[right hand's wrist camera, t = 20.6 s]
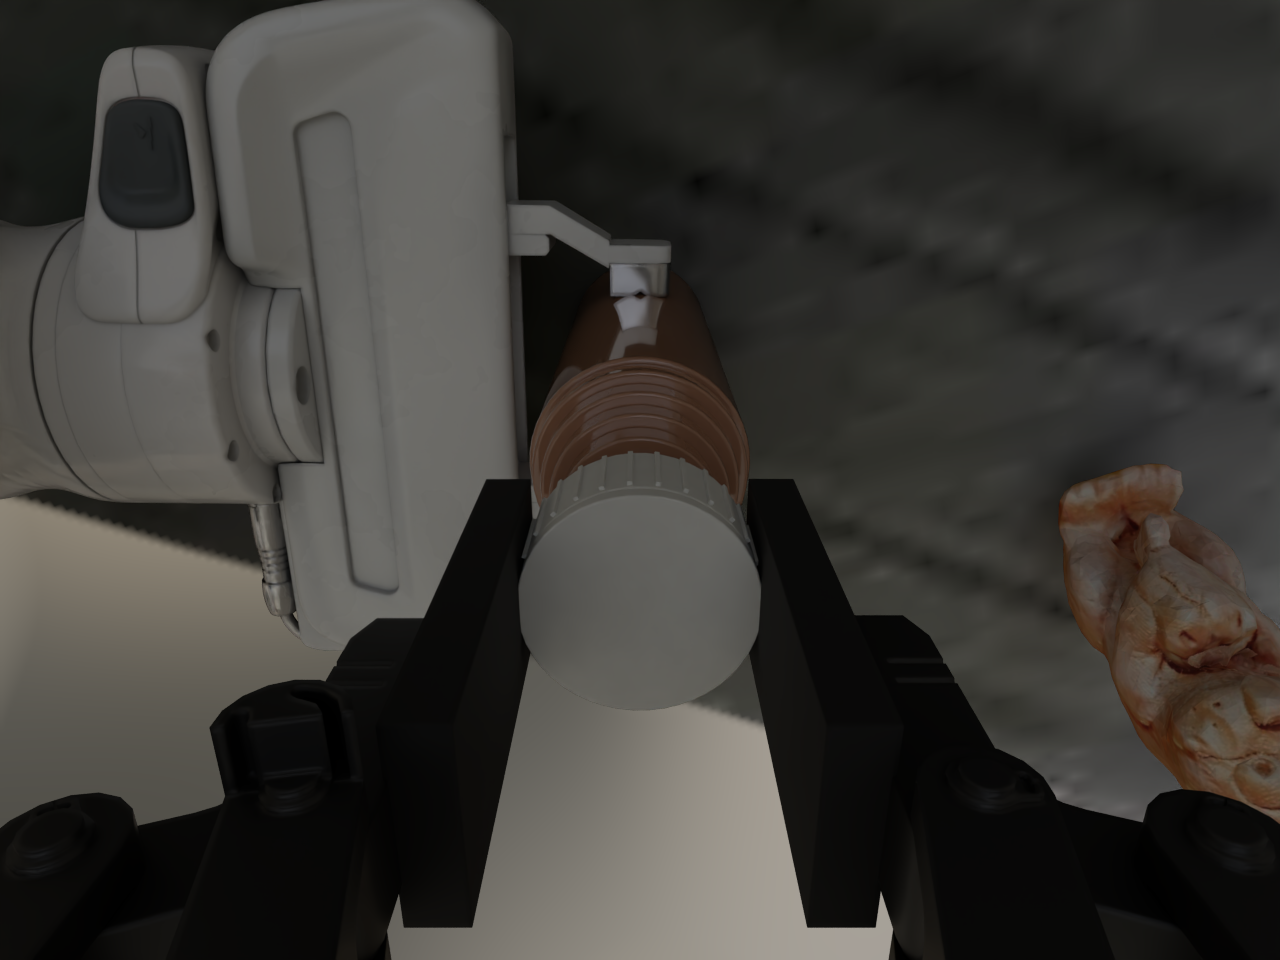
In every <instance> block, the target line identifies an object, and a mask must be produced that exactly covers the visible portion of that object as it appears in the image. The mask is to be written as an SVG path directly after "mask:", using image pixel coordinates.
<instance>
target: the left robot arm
mask: <svg viewBox="0 0 1280 960" xmlns="http://www.w3.org/2000/svg"><path fill="white" fill-rule="evenodd" d="M556 238H557V239H559V240H561V241H562V242H564V243H566V244H568V245H569V246H571V247H573V248H575V249H576V250H578V251H580V252H581V253H583V254H585V255H587V256H588V257H590V258H592V259H593V260H595V261H597V262H599V263H600V264H602V265H604V266H606V267H607V268H609V265H610V296H634V295H636V294H637V293H639V292H640V291H641V292H642V293H643V294H645V295H646V296H653V297H664V296H668V295H669V292H670V270H671V242H670V241H666V240H654V239H611V234H609V233H608V232H606V231H605V230H603V229H601V228H600V227H598V226H596V225H595V224H593V223H591V222H590V221H588V220H587V219H585V218H583V217H582V216H580V215H578V214H577V213H575V212H574V211H572V210H570V209H569V208H567V207H565V206H564V205H562V204H561V203H559V202H557V201H554V200H519V196H518V170H517V144H516V118H515V92H514V67H513V45H512V40H511V37H510V35H509V33H508V32H507V31H506V29H505V28H504V27H503V26H502V25H501V24H500V23H499V21H498V20H497V19H496V18H495V17H494V16H493V15H492V14H491V13H490V12H489V11H488V10H487V9H486V8H485V7H484V6H482V5H481V4H480V3H479V2H477V1H476V0H324V1H318V2H312V3H306V4H300V5H295V6H290V7H285V8H280V9H276V10H272V11H268V12H265V13H262V14H259V15H257V16H254V17H252V18H250V19H248V20H246V21H244V22H242V23H241V24H239V25H238V26H236V27H235V28H234V29H233V30H231V31H230V32H229V33H228V34H227V35H226V36H225V37H224V38H223V40H222V41H221V42H220V43H219V45H218V46H217V48H216V50H215V51H214V50H209V49H203V48H196V47H189V46H174V45H150V46H138V47H130V48H123V49H119V50H116V51H114V52H113V53H111V54H110V55H109V56H108V57H107V59H106V61H105V63H104V65H103V68H102V71H101V75H100V79H99V87H98V96H97V108H96V121H95V132H94V143H93V154H92V163H91V172H90V181H89V189H88V196H87V204H86V210H85V216H84V217H80V218H76V219H72V220H68V221H64V222H60V223H56V224H52V225H46V226H34V227H27V226H19V225H15V224H12V223H9V222H5V221H2V220H0V499H5V498H11V497H15V496H19V495H22V494H26V493H29V492H33V491H36V490H42V489H62V490H66V491H70V492H74V493H77V494H80V495H83V496H86V497H90V498H94V499H98V500H104V501H113V502H136V503H228V504H248V510H249V515H250V520H251V526H252V532H253V537H254V541H255V545H256V548H257V551H258V554H259V557H260V561H261V565H262V570H263V577H264V578H263V579H262V588H263V595H264V599H265V602H266V605H267V607H268V610H269V611H270V613H271V614H272V615H274V616H280V617H281V619H282V621H283V623H284V624H285V626H286V627H287V628H288V629H289V630H290V631H291V632H292V633H293V635H295V636H296V637H297V638H299V639H300V640H301V641H302V642H303V644H304V645H306V646H307V647H310V648H313V649H317V650H324V651H343V650H344V648H345V647H346V645H347V643H348V642H349V640H350V638H351V637H353V636H354V635H355V634H357V633H358V632H359V631H361V630H362V629H363V628H364V627H366V626H367V625H368V624H370V623H371V622H372V621H374V620H375V619H376V618H424V616H425V614H426V612H427V610H428V607H429V605H430V603H431V601H432V599H433V596H434V594H435V592H436V590H437V587H438V585H439V583H440V581H441V579H442V576H443V574H444V572H445V570H446V567H447V565H448V563H449V561H450V559H451V556H452V554H453V552H454V550H455V547H456V545H457V543H458V541H459V539H460V536H461V534H462V532H463V530H464V527H465V525H466V523H467V521H468V519H469V516H470V514H471V512H472V510H473V507H474V505H475V503H476V501H477V499H478V496H479V494H480V492H481V490H482V487H483V485H484V483H485V481H486V479H531V472H530V462H529V456H528V430H527V404H526V378H525V352H524V326H523V300H522V274H521V255H529V256H546V255H547V253H548V252H549V251H550V250H551V249H552V248H553V246H554V245H555V244H556ZM531 495H532V514H533V518H534V519H536V518H537V516H538V513H539V510H540V508H539V505H538V503H537V500H536V497H535V493H534V489H533V483H532V479H531ZM295 611H297V617H298V621H297V620H296V618H295V617H294V615H293V613H294V612H295Z"/></svg>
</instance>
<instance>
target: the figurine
mask: <svg viewBox="0 0 1280 960" xmlns="http://www.w3.org/2000/svg"><path fill="white" fill-rule="evenodd" d="M1183 491H1184V489H1183V486H1182V477H1181V471H1178V470H1174V469H1172V468H1170V467H1169V466H1168V465H1163V464H1145V465H1134V466H1131V467H1128V468H1125V469H1122V470H1118V471H1115V472H1112V473H1109V474H1106V475H1103V476H1100V477H1097V478H1093V479H1090V480H1086V481H1082V482H1080V483H1077V484H1074V485H1073V486H1071V487H1070V488H1069V489H1067V490H1066V491H1065V492H1064V494H1063V496H1062V497H1061V499H1060V503H1059V519H1058V524H1059V530H1060V534H1061V537H1062V539H1063V541H1064V546H1063V553H1064V557H1063V568H1064V582H1065V586H1066V590H1067V597H1068V602H1069V605H1070V608H1071V610H1072V612H1073V615H1074V617H1075V619H1076V622H1077V624H1078V626H1079V628H1080V630H1081V632H1082V634H1083V635H1084V636H1085V637H1086V639H1087V640H1088V641H1089V643H1090V644H1091V645H1092V646H1093V647H1094V648H1095V649H1097V650H1098V651H1100V652H1101V653H1103V654H1104V655H1105V657H1106V658H1107V660H1108V662H1109V666H1110V670H1111V675H1112V678H1113V681H1114V684H1115V686H1116V689H1117V691H1118V694H1119V696H1120V699H1121V701H1122V703H1123V705H1124V707H1125V709H1126V711H1127V713H1128V715H1129V717H1130V719H1131V721H1132V723H1133V725H1134V728H1135V730H1136V732H1137V734H1138V736H1139V737H1140V739H1141V740H1142V742H1143V743H1144V744H1145V746H1146V747H1147V748H1148V749H1149V750H1150V751H1151V752H1152V753H1153V754H1154V755H1155V757H1156V758H1158V759H1159V760H1160V761H1161V762H1162V763H1163V764H1164V765H1165V766H1166V767H1167V768H1168V770H1169V771H1170V772H1171V773H1172V774H1173V775H1174V776H1175V777H1176V779H1177V781H1178V782H1179V784H1180V785H1181V786H1182V788H1183V789H1186V790H1197V791H1207V792H1212V793H1215V794H1218V795H1222V796H1225V797H1228V798H1231V799H1235V800H1238V801H1241V802H1243V803H1245V804H1247V805H1249V806H1250V807H1252V808H1254V809H1256V810H1258V811H1260V812H1262V813H1264V814H1266V815H1268V816H1270V817H1271V818H1273V819H1274V820H1275V821H1277V822H1278V823H1279V824H1280V629H1279V628H1278V627H1277V626H1276V624H1275V623H1274V622H1273V621H1272V620H1271V619H1270V618H1268V617H1267V616H1265V615H1263V614H1262V613H1261V612H1260V610H1259V609H1258V607H1257V606H1256V605H1255V604H1254V603H1253V602H1252V601H1251V600H1250V599H1249V598H1248V597H1247V596H1246V585H1245V577H1244V573H1243V570H1242V567H1241V564H1240V562H1239V560H1238V558H1237V557H1236V555H1235V553H1234V551H1233V550H1232V549H1231V548H1230V547H1229V546H1228V545H1227V544H1226V543H1225V542H1224V541H1222V540H1221V539H1220V538H1219V537H1218V536H1217V535H1216V534H1214V533H1213V532H1211V531H1210V530H1208V529H1207V528H1205V527H1203V526H1201V525H1199V524H1197V523H1196V522H1194V521H1192V520H1190V519H1188V518H1187V517H1185V516H1183V515H1181V514H1179V513H1178V512H1176V511H1175V510H1173V509H1174V508H1175V506H1176V505H1177V503H1178V500H1179V498H1180V496H1181V495H1182V493H1183Z"/></svg>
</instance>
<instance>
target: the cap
mask: <svg viewBox="0 0 1280 960" xmlns="http://www.w3.org/2000/svg"><path fill="white" fill-rule="evenodd" d="M521 558H524V559H525V560H524V563H523V567H522V571H521V574H520V579H519V583H518V591H519V608H520V624H521V633H522V635H523V638H524V640H525V643H526V645H527V647H528V648H529V650H530V652H531V654H532V656H533V657H534V658H535V660H536V661H537V662H538V664H539V665H540V666H541V668H542V669H543V670H544V671H545V672H546V673H547V674H548V675H549V676H550V677H551V678H552V679H553V680H555V681H556V682H557V683H559V684H560V685H561V686H562V687H564V688H565V689H567V690H569V691H570V692H572V693H574V694H575V695H577V696H579V697H582V698H584V699H586V700H588V701H591V702H594V703H597V704H600V705H603V706H607V707H612V708H617V709H625V710H655V709H663V708H668V707H672V706H676V705H680V704H683V703H686V702H689V701H691V700H694V699H696V698H698V697H700V696H702V695H704V694H706V693H708V692H709V691H711V690H712V689H714V688H716V687H717V686H719V685H720V684H721V683H722V682H724V681H725V680H726V679H727V678H728V677H730V676H731V675H732V673H733V672H734V671H735V670H736V669H737V668H738V667H739V666H740V665H741V663H742V662H743V661H744V659H745V658H746V656H747V655H748V653H749V652H750V650H751V648H752V646H753V644H754V642H755V640H756V637H757V634H758V630H759V615H760V599H761V580H760V576H759V572H758V569H757V566H758V557H757V554H756V550H755V546H754V543H753V539H752V536H751V532H750V529H749V525H746V522H745V518H744V515H743V511H742V507H741V505H740V504H739V503H738V504H737V505H736V503H735V502H734V500H733V499H732V497H731V496H730V495H729V493H728V489H727V487H726V486H725V485H724V484H723V485H722V486H721V485H720V484H719V483H718V482H717V481H716V480H715V479H714V478H712V477H711V476H710V475H709V474H708V471H707V470H706V469H703V470H701V469H699V468H697V467H695V466H693V465H691V464H690V463H687V462H685V459H683V458H680V460H679V459H676V458H673V457H669V456H665V455H660V452H654V454H651V453H633V451H628V454H620V455H614V456H611V457H607V455H605V456H602V459H600V460H598V461H595V462H593V463H590V464H588V465H586V466H584V467H583V465H581V466H579V467H578V470H577V471H575V472H574V473H573V474H571V475H570V476H569V477H567V478H566V479H565V480H562V479H560V480H559V481H558V483H557V487H556V488H555V489H554V490H553V492H552V493H551V494H550V496H549V497H548V498H545V497H544V498H543V500H542V502H541V506H540V510H539V513H538V516H537V518H536V519H534V518H533V519H532V521H531V525H530V528H529V532H528V535H527V539H526V543H525V546H524V550H523V553H522V557H521Z"/></svg>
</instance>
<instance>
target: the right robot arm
mask: <svg viewBox="0 0 1280 960" xmlns="http://www.w3.org/2000/svg"><path fill="white" fill-rule="evenodd" d="M532 519H533V514H532V495H531V479H486V481H485V483H484V485H483V487H482V490H481V492H480V494H479V496H478V499H477V501H476V503H475V505H474V507H473V510H472V512H471V514H470V516H469V519H468V521H467V523H466V525H465V527H464V530H463V532H462V534H461V536H460V539H459V541H458V543H457V545H456V547H455V550H454V552H453V554H452V556H451V559H450V561H449V563H448V565H447V567H446V570H445V572H444V574H443V576H442V579H441V581H440V583H439V585H438V587H437V590H436V592H435V594H434V596H433V599H432V601H431V603H430V605H429V607H428V610H427V612H426V614H425V616H424V618H376V619H375V620H374V621H372V622H371V623H370V624H368V625H367V626H366V627H364V628H363V629H362V630H361V631H359V632H358V633H357V634H355V635H354V636H353V637H351V638H350V640H349V642H348V643H347V645H346V647H345V648H344V650H343V652H342V654H341V655H340V657H339V659H338V661H337V666H334V667H333V669H332V671H331V673H330V674H329V676H328V678H327V680H326V682H325V681H322V680H292V681H287V682H282V683H277V684H273V685H268V686H266V687H263V688H261V689H258V690H256V691H254V692H251V693H249V694H247V695H244V696H242V697H241V698H239V699H238V700H237V701H235V702H234V703H232V704H231V705H230V706H228V707H227V708H225V709H224V710H222V712H221V713H220V714H219V716H218V717H217V718H216V720H215V721H214V722H213V724H212V725H211V726H210V732H211V736H212V741H213V745H214V749H215V754H216V758H217V762H218V767H219V771H220V775H221V780H222V784H223V788H224V793H225V798H224V801H223V803H222V804H221V805H218V806H216V807H212V808H209V809H206V810H202V811H199V812H196V813H192V814H188V815H183V816H179V817H174V818H170V819H166V820H161V821H157V822H152V823H148V824H144V825H139V826H137V822H136V819H135V815H134V812H133V809H132V808H131V807H130V806H129V805H128V804H127V803H126V802H125V801H124V800H123V799H122V798H121V797H117V796H112V795H108V794H103V793H90V794H79V795H70V796H67V797H64V798H61V799H58V800H54V801H51V802H48V803H45V804H42V805H39V806H37V807H35V808H33V809H31V810H29V811H27V812H26V813H24V814H22V815H20V816H18V817H16V818H14V819H12V820H10V821H9V822H7V823H6V824H5V825H4V826H2V827H1V828H0V960H391V954H390V947H389V941H388V934H387V929H388V926H389V923H390V920H391V917H392V914H393V910H394V907H395V904H396V901H397V898H398V895H399V897H400V904H401V911H402V918H403V925H404V928H466V927H467V928H472V926H473V921H474V917H475V912H476V907H477V903H478V898H479V893H480V888H481V884H482V879H483V874H484V869H485V865H486V860H487V855H488V851H489V846H490V841H491V836H492V832H493V827H494V822H495V818H496V813H497V808H498V803H499V799H500V794H501V789H502V785H503V780H504V775H505V770H506V765H507V761H508V756H509V751H510V747H511V742H512V737H513V733H514V728H515V723H516V718H517V714H518V709H519V704H520V699H521V695H522V690H523V685H524V681H525V676H526V671H527V667H528V662H529V657H530V650H529V648H528V647H527V645H526V643H525V640H524V638H523V635H522V633H521V624H520V608H519V591H518V583H519V579H520V574H521V571H522V567H523V563H524V560H525V559H524V558H521V557H522V553H523V550H524V546H525V543H526V539H527V535H528V532H529V528H530V525H531V521H532ZM746 525H749V529H750V532H751V536H752V539H753V543H754V546H755V550H756V554H757V557H758V566H757V569H758V572H759V576H760V580H761V599H760V615H759V630H758V634H757V637H756V640H755V642H754V644H753V646H752V648H751V650H750V652H749V655H750V660H751V664H752V669H753V674H754V678H755V683H756V688H757V693H758V697H759V702H760V707H761V711H762V716H763V721H764V726H765V730H766V735H767V740H768V744H769V749H770V754H771V759H772V763H773V768H774V773H775V778H776V782H777V787H778V792H779V796H780V801H781V806H782V811H783V815H784V820H785V825H786V830H787V834H788V839H789V844H790V848H791V853H792V858H793V863H794V867H795V872H796V877H797V881H798V886H799V891H800V896H801V900H802V905H803V910H804V915H805V919H806V924H807V927H808V928H875V927H876V921H877V914H878V907H879V900H880V893H881V892H882V896H883V898H884V902H885V905H886V908H887V911H888V914H889V917H890V920H891V924H892V926H893V934H892V941H891V947H890V954H889V960H1280V824H1279V823H1278V822H1277V821H1275V820H1274V819H1273V818H1271V817H1270V816H1268V815H1266V814H1264V813H1262V812H1260V811H1258V810H1256V809H1254V808H1252V807H1250V806H1249V805H1247V804H1245V803H1243V802H1241V801H1238V800H1235V799H1231V798H1228V797H1225V796H1222V795H1218V794H1215V793H1212V792H1207V791H1197V790H1186V789H1179V790H1175V791H1170V792H1165V793H1160V794H1159V795H1158V796H1157V797H1156V798H1155V799H1154V800H1153V801H1151V802H1150V803H1149V804H1148V806H1147V809H1146V813H1145V816H1144V820H1143V822H1138V821H1134V820H1130V819H1125V818H1121V817H1116V816H1112V815H1107V814H1103V813H1099V812H1094V811H1090V810H1085V809H1082V808H1079V807H1075V806H1072V805H1069V804H1065V803H1062V802H1060V801H1058V800H1057V799H1056V797H1055V794H1054V793H1053V791H1052V790H1051V788H1050V787H1049V785H1048V783H1047V782H1046V780H1045V779H1044V777H1043V776H1041V775H1040V774H1039V773H1038V772H1037V771H1035V770H1034V769H1033V768H1032V767H1030V766H1029V765H1028V764H1027V763H1025V762H1024V761H1022V760H1020V759H1018V758H1016V757H1014V756H1012V755H1010V754H1008V753H1005V752H1003V751H1001V750H999V749H995V747H994V746H993V744H992V742H991V740H990V739H989V737H988V735H987V734H986V732H985V730H984V728H983V727H982V725H981V723H980V722H979V720H978V718H977V716H976V715H975V713H974V711H973V710H972V708H971V706H970V704H969V703H968V701H967V699H966V698H965V696H964V694H963V692H962V691H961V689H960V687H959V686H958V684H957V683H955V682H954V677H953V675H952V674H951V672H950V670H949V668H948V667H947V665H946V664H943V658H942V656H941V655H940V653H939V651H938V649H937V648H936V646H935V644H934V643H933V641H932V639H931V637H930V636H929V635H928V634H927V633H925V632H924V631H923V630H921V629H920V628H919V627H917V626H916V625H915V624H913V623H912V622H911V621H910V620H908V619H907V618H906V617H904V616H903V615H854V613H853V611H852V609H851V607H850V604H849V602H848V600H847V598H846V595H845V593H844V591H843V589H842V586H841V584H840V582H839V580H838V578H837V575H836V573H835V571H834V569H833V566H832V564H831V562H830V560H829V558H828V555H827V553H826V551H825V549H824V546H823V544H822V542H821V540H820V538H819V535H818V533H817V531H816V529H815V526H814V524H813V522H812V520H811V518H810V515H809V513H808V511H807V509H806V506H805V504H804V502H803V500H802V498H801V495H800V493H799V491H798V489H797V486H796V484H795V482H794V480H793V479H749V484H748V504H747V523H746Z"/></svg>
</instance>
